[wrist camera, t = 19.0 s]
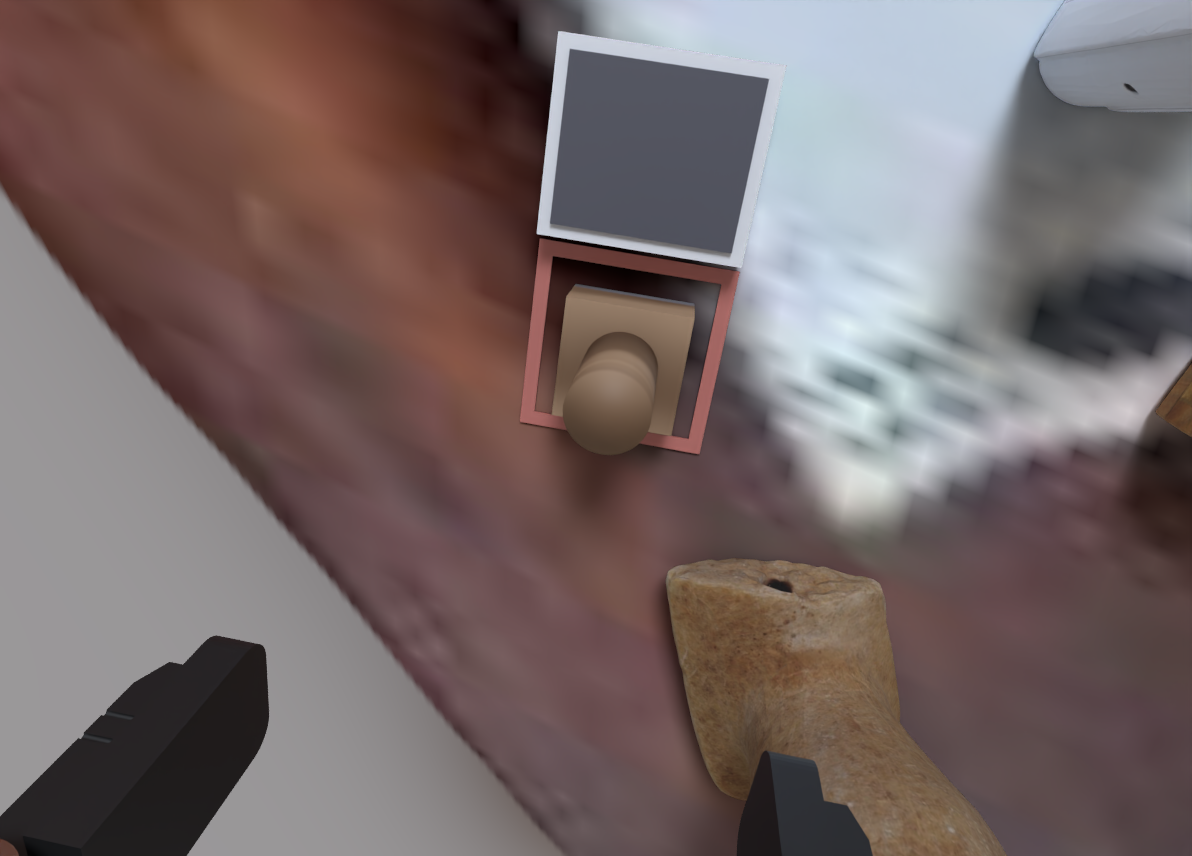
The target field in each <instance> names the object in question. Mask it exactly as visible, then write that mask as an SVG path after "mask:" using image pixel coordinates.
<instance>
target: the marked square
mask: <svg viewBox="0 0 1192 856" xmlns="http://www.w3.org/2000/svg"><path fill="white" fill-rule="evenodd" d="M553 256H556V257H562V258H568V259H574V260H580V261H586V262H592V263H598V264H604V265H610V266H616V267H622V268H628V269H634V270H640V271H646V272H652V273H657V274H663V275H669V276H675V277H681V278H687V279H693V280H699V281H705V282H711V283H717V284H721V289H720V294H719V298H718V303H717V308H716V312H715V317H714V322H713V326H712V331H711V336H710V341H709V345H708V350H707V355H706V359H705V364H704V369H703V373H702V378H701V383H700V387H699V392H698V397H697V402H696V406H695V411H694V416H693V420H692V425H691V430H690V434H689V439H686V438H681V437H675V436H667V435H662V434H656V433H650V432H648V433H647V434H646V436H645V437H644V439H643V440H642V441H641V442H640V444H645V445H651V446H656V447H662V448H667V449H673V450H678V451H684V452H689V453H695V454H699V453H700V449H701V444H702V440H703V435H704V431H705V426H706V422H707V417H708V413H709V408H710V404H711V399H712V395H713V390H714V386H715V381H716V376H717V372H718V367H719V363H720V358H721V354H722V349H723V345H724V340H725V336H726V331H727V327H728V322H729V318H730V313H731V309H732V304H733V300H734V295H735V291H736V286H737V282H738V277H739V273H740V272H739V271H733V270H727V269H721V268H715V267H709V266H703V265H697V264H691V263H685V262H679V261H673V260H667V259H661V258H655V257H649V256H643V255H637V254H631V253H625V252H619V251H613V250H607V249H601V248H595V247H589V246H583V245H577V244H571V243H565V242H559V241H553V240H547V239H541V238H540V242H539V252H538V261H537V270H536V279H535V288H534V297H533V306H532V315H531V325H530V334H529V343H528V352H527V361H526V370H525V379H524V388H523V397H522V407H521V416H520V422H524V423H530V424H535V425H541V426H546V427H552V428H557V429H563V430H567V429H566V426H565V424H564V420H563V417H561V416H555V415H552V414H548V413H542V412H537V411H535V404H536V396H537V387H538V379H539V370H540V362H541V353H542V345H543V336H544V328H545V319H546V311H547V302H548V294H549V285H550V277H551V268H552V260H553Z"/></svg>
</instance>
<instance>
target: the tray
mask: <svg viewBox="0 0 1192 856" xmlns="http://www.w3.org/2000/svg"><path fill="white" fill-rule="evenodd" d="M1156 413H1157V415H1159V416H1160V417H1161V418H1163V419H1164V420H1165V421H1167V422H1168V423H1170V424H1171V425H1173V426H1174V427H1176V428H1177V429H1179V430H1180V431H1182V432H1184V433H1186V434H1187V435H1189V436H1190V437H1192V364H1191V365H1190V366H1189V368H1188V369H1187V370H1186V372H1185V373H1184V374H1183V376H1182V377H1181V378H1180V379H1179V381H1178V382H1177V383H1176V385H1175V386H1174V387H1173V389H1172V390H1171V391H1170V393H1169V394H1168V395H1167V397H1166V398H1165V399H1164V401H1163V402H1162V403H1161V405H1160V406H1159V408H1158V409H1157V410H1156Z"/></svg>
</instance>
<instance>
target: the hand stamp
mask: <svg viewBox="0 0 1192 856" xmlns="http://www.w3.org/2000/svg"><path fill="white" fill-rule="evenodd" d="M694 319H695V308H694V304H693V303H687V302H681V301H675V300H669V299H663V298H657V297H651V296H645V295H639V294H633V293H627V292H621V291H615V290H609V289H603V288H597V287H592V286H586V285H580V284H575V286H574V287H573V288H572V290H571V291H570V292H569V294H568V295H567V297H566V304H565V312H564V320H563V328H562V336H561V344H560V352H559V360H558V368H557V376H556V384H555V392H554V400H553V408H552V415H555V416H561V417H563V420H564V424H565V426H566V429H567V431H568V433H569V434H570V436H571V437H572V438H573V439H574V440H575V442H577V443H578V444H579V445H580V446H582V447H583V448H585V449H587V450H589V451H591V452H594V453H597V454H602V455H616V454H621V453H624V452H627V451H629V450H631V449H633V448H634V447H636V446H637V445H638V444H639V443H640V442H641V441H642V440H643V439H644V437H645V436H646V434H647V433H648V432H650V433H656V434H662V435H667V436H671V434H672V429H673V424H674V419H675V414H676V409H677V404H678V399H679V394H680V389H681V384H682V379H683V374H684V369H685V364H686V359H687V354H688V349H689V344H690V339H691V334H692V329H693V324H694Z"/></svg>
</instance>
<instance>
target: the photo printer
mask: <svg viewBox="0 0 1192 856" xmlns="http://www.w3.org/2000/svg"><path fill="white" fill-rule="evenodd" d="M1034 57H1035V58H1036V59H1038V60H1039V61H1040V62H1039V70H1040V73H1041V76H1042V79H1043V81H1044V83H1045V84H1046V86H1047V87H1048V89H1049V90H1050V91H1051V92H1052V93H1053V94H1054V95H1055V96H1056V97H1058V98H1059V99H1061V100H1062V101H1064V102H1066V103H1069V104H1072V105H1076V106H1085V107H1097V106H1106V107H1107V108H1108V109H1109V110H1111V111H1118V112H1192V0H1065V1H1064V3H1063V4H1062V6H1061V7H1060V9H1059V10H1058V12H1057V13H1056V15H1055V16H1054V18H1053V19H1052V21H1051V22H1050V24H1049V25H1048V27H1047V29H1046V30H1045V32H1044V34H1043V36H1042V38H1041V39H1040V41H1039V43H1038V45H1037V47H1036V49H1035V52H1034Z"/></svg>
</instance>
